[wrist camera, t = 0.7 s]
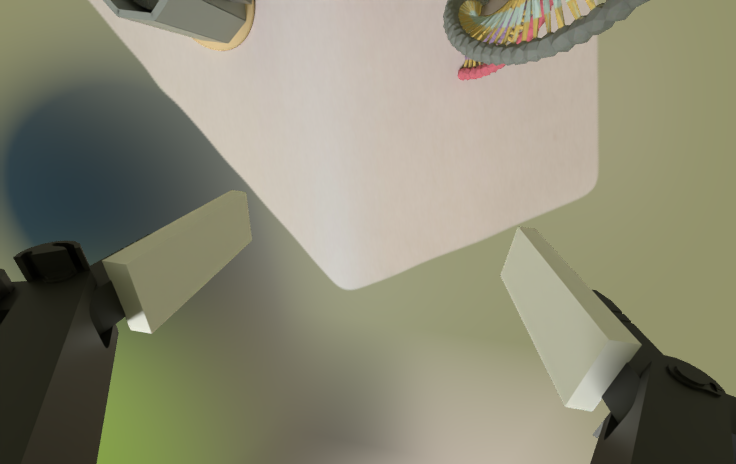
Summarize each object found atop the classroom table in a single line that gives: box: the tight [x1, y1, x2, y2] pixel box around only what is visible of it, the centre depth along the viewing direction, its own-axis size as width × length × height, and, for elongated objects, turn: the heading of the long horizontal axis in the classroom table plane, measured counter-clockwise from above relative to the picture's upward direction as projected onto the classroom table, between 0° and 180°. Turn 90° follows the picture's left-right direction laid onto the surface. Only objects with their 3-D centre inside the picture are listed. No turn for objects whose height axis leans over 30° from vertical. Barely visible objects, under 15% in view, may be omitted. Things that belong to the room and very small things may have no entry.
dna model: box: [443, 0, 649, 80], centre depth 21 cm, size 9×9×30 cm
